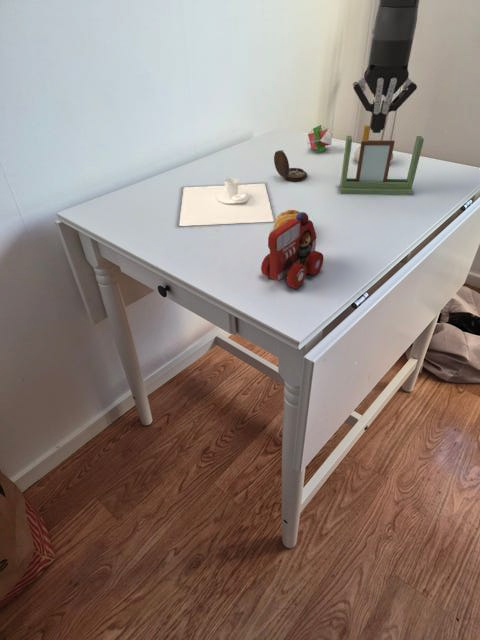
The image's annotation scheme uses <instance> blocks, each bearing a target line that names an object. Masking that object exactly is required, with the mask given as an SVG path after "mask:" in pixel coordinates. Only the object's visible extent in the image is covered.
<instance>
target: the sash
mask: <svg viewBox="0 0 480 640" xmlns="http://www.w3.org/2000/svg"><path fill="white" fill-rule="evenodd" d="M362 130H363V131H362V135H361V136H362V137H361V141H360V146H361V147H360V146H359V147H360V154H359V160H358V162H357V167H356V174H355V178H356V180H355V182H387V179H388V176H389V171H390V166H391V162H392V160H391V157H392V152H393V153H394V147H395V142H396V141H395V140H376V139H375V140H371V139H370V134H371V133H370V132H371V128H370V125H363V129H362Z"/></svg>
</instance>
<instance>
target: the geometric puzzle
mask: <svg viewBox="0 0 480 640" xmlns="http://www.w3.org/2000/svg"><path fill="white" fill-rule="evenodd" d="M322 127H323V128H325V126H324V125H322V124H320V125H318V126H316V127H313V128H312V130H310V132H309V133H307V137H308V139H307V141H306V142H307V143H306V145H307V146H308V147H310V149H311V150H315V149H316V151H317V154H318V155H319V154H320V153H322V152H325V151H326V150H327V149H328V148H329V147H330V146H332V143H333V135H332V133H331V131H330V130H329V128H325V129H323V128H322Z"/></svg>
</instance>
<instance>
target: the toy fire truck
mask: <svg viewBox="0 0 480 640" xmlns="http://www.w3.org/2000/svg"><path fill="white" fill-rule="evenodd" d="M299 212H300V213H299V214H298V215H297V216H296V219H291V220H289V221H288V222H286V223H285V224H283V225H282V226H280V227H278V228H277V229H273V230H272V231H270V232H269V234H268V237H267V248H268V249H269V253H267V255H265V257H264V258H263V260H262V263H261V267H260V271H261V274H262V275H263V276H264V277H268V278H269V279H272V280H274V281H281V280H282V279H286V284H287V286H288V287H290V288H292V289H298V288H300V287H301V286H302V284H303V283H304V282H305V279H306V276H307V274H308V275H311V276H315V275H317V274H318V273H319V272H320V271H321V269H322V267H323V264H324V259H325V258H324V254H323V253H322V252H320V251H318V250H316V246H317V245H316V244H317V233H316V230H315V226H314V223H313V221H312V220H310V219H309V214H307V212H304V211H299Z"/></svg>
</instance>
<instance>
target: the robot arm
mask: <svg viewBox="0 0 480 640" xmlns="http://www.w3.org/2000/svg"><path fill="white" fill-rule="evenodd" d="M420 2H421V1H420V0H378V7H377V11H376V15H375V18H374V22H373V23H374V24H373V28H372V36H371V43H370V50H369V51H370V52H369V56H368V57H369V58H368V64H367V68H366V70H365V72H364V74H363V77H362V78H360V79H359V80H358V81H354V82H353V83H352V89H353V90H354V92H355V94H356V96H357V98H358V99H359V101H360V102H361V104H362V106H363V107H364V109H365V111H366V112H370V113H371V115H370V123H369V126H370V131H372V133H373V134H380V133H381V131H384V129H385V127H386V122H387V115H388V114H389V113H391V112H396V111H397V110H398V109H400V107H402V105H403V104H404V103H405V102H406V101H407V100H408V98H410V97H411V96H412V95H413V94H414V93H415V91H416V90H417V89H418V85H417V84H416V83H415V82H414V81H412V79H410V78H409V76H410V74H409V73H410V72H409V70H408V69H409V62H410V58H411V53H412V48H413V42H414V38H415V33H416V29H417V24H418V12H419V6H420ZM366 85H367V87H368V89H369V90H370V92H371V94H372V103H371V102H370V101H369V100H368V98H367V96H366V94H365V93H364V92H365V91H366ZM400 88H402V90H401V91H400V92H399V94H397V95H396V97H395V98H394V99H393V97H394V95H395V94H396V93H397V92H398V91H399V89H400Z"/></svg>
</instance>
